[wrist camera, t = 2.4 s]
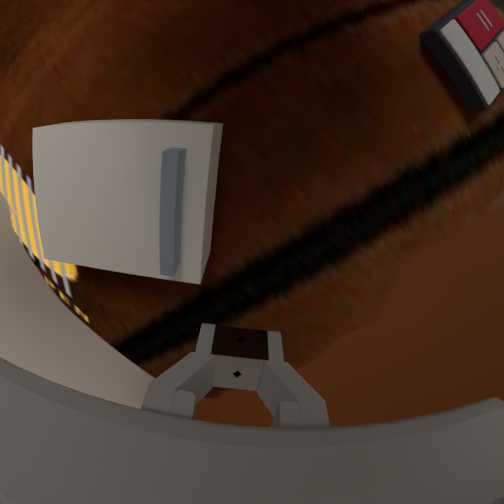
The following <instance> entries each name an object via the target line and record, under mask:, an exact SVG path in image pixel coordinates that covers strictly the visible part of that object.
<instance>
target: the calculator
mask: <svg viewBox="0 0 504 504" xmlns="http://www.w3.org/2000/svg"><path fill="white" fill-rule="evenodd" d="M420 38H421V39H422V41H423V42H424V43H425V44H426V46H427V47H428V48H429V49H430V51H431V52H432V53H433V55H434V56H435V57H436V59H437V60H438V61H439V63H440V64H441V65H442V67H443V68H444V70H445V71H446V73H447V74H448V76H449V77H450V78H451V80H452V81H453V83H454V85H455V86H456V88H457V89H458V91H459V92H460V94H461V96H462V97H463V99H464V101H465V102H466V104H467V106H468V107H469V108H470V109H485V110H488V109H489V108H490V106H491V105H492V104H493V102H494V101H495V100H496V98H497V97H498V96H499V94H500V93H501V92H502V90H503V89H504V21H503V20H502V18H501V17H500V15H499V14H498V12H497V11H496V10H495V8H494V7H493V5H492V4H491V3H490V1H489V0H462V1H461V2H460V3H458V4H457V5H456V6H455V7H453V8H452V9H451V10H450V11H448V12H447V13H446V14H445V15H443V16H442V17H441V18H440V19H438V20H437V21H435V22H434V23H433V24H431V25H430V26H429V27H428V28H426V29H425V30H424V31H423V32H422V33H420Z"/></svg>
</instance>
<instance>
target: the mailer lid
mask: <svg viewBox="0 0 504 504" xmlns="http://www.w3.org/2000/svg"><path fill="white" fill-rule="evenodd" d="M214 126H215V125H211V124H197V123H181V122H153V121H119V122H92V123H76V124H64V125H54V126H45V127H37V128H33V172H34V187H35V198H36V208H37V216H38V223H39V230H40V236H41V242H42V247H43V253H44V258H45V259H49V260H54V261H60V262H65V263H70V264H76V265H81V266H87V267H92V268H98V269H104V270H110V271H116V272H122V273H128V274H134V275H140V276H147V277H153V278H160V279H167V280H173V281H180V282H188V283H195V284H200V283H201V277H202V259H203V244H204V229H205V216H206V204H207V193H208V182H209V171H210V162H211V152H212V143H213V134H214Z"/></svg>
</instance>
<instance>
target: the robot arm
mask: <svg viewBox="0 0 504 504" xmlns="http://www.w3.org/2000/svg"><path fill="white" fill-rule="evenodd" d="M213 387H223V388H235V389H243V390H251V391H257V393H258V395H259V396H260V398H261V399H262V401H263V402H264V404H265V405H266V407H267V408H268V410H269V411H270V413H271V414H272V416H273V417H274V419H273V421H272V424H271V426H270V427H256V426H243V425H231V424H222V423H214V422H206V421H199V420H196V405H197V404H198V403H199V402H200V401H201V399H202V398H203V397H204V396H205V395H206V394H207V393H208V392H209V391H210V390H211V389H212V388H213ZM0 504H504V402H503V401H501V400H500V399H498V398H495V397H492V398H488V399H485V400H482V401H479V402H476V403H472V404H469V405H465V406H462V407H458V408H454V409H451V410H446V411H442V412H438V413H433V414H429V415H424V416H419V417H414V418H408V419H402V420H396V421H389V422H381V423H373V424H364V425H352V426H339V427H330V424H329V419H328V413H327V408H326V403H325V400H324V399H323V398H322V397H321V396H320V395H319V394H318V393H317V392H316V391H315V390H314V389H313V388H312V387H311V386H310V385H309V384H308V383H307V382H306V381H305V380H304V379H303V378H302V377H301V376H300V375H299V374H298V373H297V372H296V370H295V369H294V368H293V367H292V366H291V365H290V364H289V363H288V362H284V357H283V348H282V338H281V333H280V332H279V331H263V330H253V329H243V328H235V327H228V326H221V325H213V324H207V323H202V325H201V329H200V334H199V338H198V343H197V347H196V352H191V353H189V354H188V355H187V356H185V357H184V358H183V359H181V360H180V361H179V362H177V363H176V364H175V365H173V366H172V367H171V368H169V369H168V370H167V371H165V372H164V373H163V374H161V375H160V376H158V377H157V378H156V379H154V380H153V381H152V382H150V383H149V386H148V389H147V392H146V395H145V398H144V401H143V405H142V407H141V409H137V408H133V407H129V406H125V405H122V404H118V403H114V402H111V401H107V400H104V399H101V398H97V397H94V396H91V395H88V394H85V393H82V392H79V391H76V390H74V389H71V388H68V387H65V386H63V385H60V384H58V383H55V382H52V381H50V380H47V379H45V378H43V377H40V376H38V375H36V374H33V373H31V372H29V371H27V370H24V369H23V368H20V367H18V366H16V365H14V364H12V363H10V362H8V361H6V360H4V359H2V358H0Z"/></svg>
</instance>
